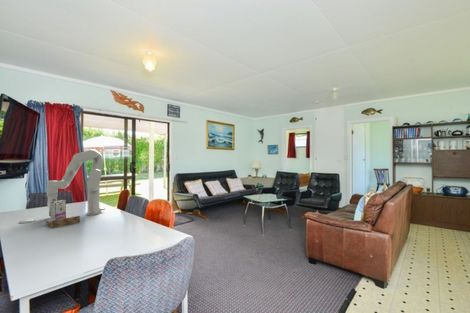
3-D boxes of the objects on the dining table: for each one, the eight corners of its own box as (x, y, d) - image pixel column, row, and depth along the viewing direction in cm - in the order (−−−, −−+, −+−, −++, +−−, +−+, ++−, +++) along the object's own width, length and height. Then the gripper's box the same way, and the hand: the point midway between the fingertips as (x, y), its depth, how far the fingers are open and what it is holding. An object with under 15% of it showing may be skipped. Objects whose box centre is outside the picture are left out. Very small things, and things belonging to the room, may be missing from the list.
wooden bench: (73, 219, 195) (73, 213, 195) (79, 222, 186) (79, 216, 186) (46, 224, 180) (46, 218, 180) (51, 227, 172) (51, 220, 172)
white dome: (33, 219, 195) (33, 217, 195) (37, 221, 189) (37, 219, 189) (18, 221, 187) (18, 220, 187) (20, 224, 181) (20, 222, 181)
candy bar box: (60, 218, 196) (60, 199, 197) (66, 219, 196) (66, 199, 196) (49, 222, 185) (49, 202, 185) (55, 222, 185) (55, 202, 185)
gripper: (60, 195, 199) (59, 216, 198) (54, 193, 208) (54, 213, 207) (49, 196, 193) (48, 217, 192) (44, 194, 202) (43, 215, 201)
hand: (51, 215), depth 200 cm, fingers closed
